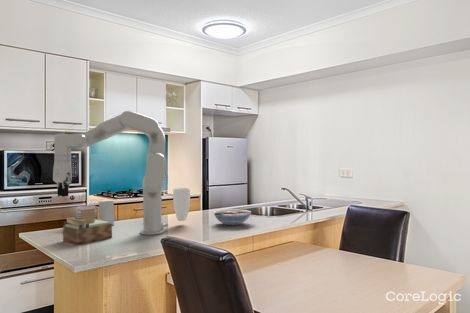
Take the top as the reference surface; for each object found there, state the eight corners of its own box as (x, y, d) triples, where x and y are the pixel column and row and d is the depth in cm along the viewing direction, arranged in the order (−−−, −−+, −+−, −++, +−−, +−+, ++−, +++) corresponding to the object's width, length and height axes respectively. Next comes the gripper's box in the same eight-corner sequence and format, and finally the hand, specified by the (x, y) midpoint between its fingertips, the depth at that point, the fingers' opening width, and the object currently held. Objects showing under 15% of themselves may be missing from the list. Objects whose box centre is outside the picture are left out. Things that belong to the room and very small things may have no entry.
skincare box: (114, 223, 216) (113, 199, 216) (114, 225, 210) (114, 200, 210) (99, 224, 213) (99, 199, 213) (98, 226, 207) (98, 201, 207)
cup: (169, 226, 208) (169, 189, 208) (178, 223, 218) (178, 187, 218) (185, 227, 204) (184, 189, 204) (193, 224, 214) (193, 188, 214)
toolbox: (96, 234, 187) (95, 217, 187) (112, 238, 178) (112, 219, 178) (62, 241, 172) (62, 222, 172) (78, 245, 164) (78, 225, 164)
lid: (96, 221, 185) (96, 205, 185) (109, 223, 178) (109, 207, 178) (65, 226, 172) (65, 209, 172) (78, 229, 165) (78, 212, 165)
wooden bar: (70, 222, 175) (69, 217, 175) (86, 225, 167) (86, 220, 167) (66, 222, 174) (66, 217, 174) (82, 226, 166) (82, 220, 166)
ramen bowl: (245, 219, 228) (245, 207, 228) (259, 226, 206) (259, 212, 206) (207, 222, 220) (207, 209, 220) (217, 229, 198) (217, 214, 198)
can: (99, 225, 212) (99, 204, 212) (95, 228, 201) (95, 207, 201) (79, 225, 210) (79, 205, 210) (73, 229, 199) (73, 208, 199)
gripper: (46, 159, 179) (47, 195, 179) (64, 159, 170) (64, 197, 170) (61, 158, 185) (61, 194, 185) (79, 158, 176) (79, 196, 176)
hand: (62, 195), depth 177 cm, fingers open, 3 cm apart
